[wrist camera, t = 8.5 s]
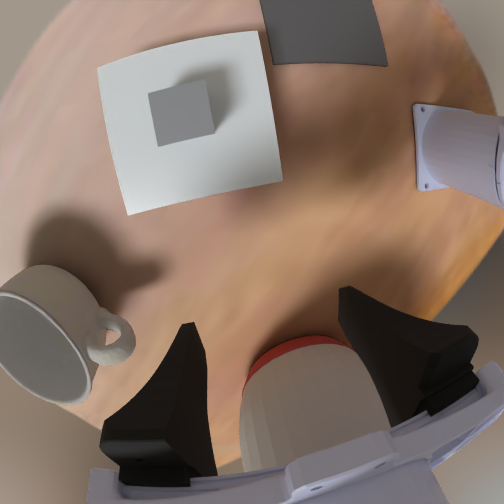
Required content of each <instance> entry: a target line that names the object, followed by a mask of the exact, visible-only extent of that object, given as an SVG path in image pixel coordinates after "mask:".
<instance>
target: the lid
mask: <svg viewBox="0 0 504 504" xmlns="http://www.w3.org/2000/svg"><path fill="white" fill-rule="evenodd" d="M97 72H98V80H99V87H100V94H101V101H102V107H103V113H104V118H105V123H106V129H107V134H108V139H109V143H110V148H111V152H112V157H113V161H114V165H115V169H116V173H117V177H118V181H119V185H120V189H121V193H122V196H123V200H124V203H125V207H126V210H127V214H128V215H132V214H136V213H139V212H143V211H147V210H151V209H155V208H159V207H163V206H167V205H171V204H175V203H179V202H184V201H188V200H192V199H197V198H201V197H206V196H210V195H215V194H220V193H224V192H229V191H234V190H239V189H244V188H249V187H255V186H260V185H265V184H271V183H277V182H282V181H283V176H282V169H281V162H280V155H279V148H278V142H277V136H276V129H275V123H274V117H273V111H272V105H271V99H270V93H269V88H268V82H267V77H266V71H265V66H264V61H263V56H262V51H261V46H260V41H259V36H258V31H247V32H237V33H229V34H222V35H215V36H209V37H203V38H198V39H192V40H187V41H183V42H178V43H174V44H170V45H166V46H162V47H158V48H154V49H151V50H147V51H144V52H141V53H137V54H134V55H131V56H128V57H125V58H122V59H119V60H116V61H114V62H111V63H108V64H106V65H103V66H101V67H98V68H97Z"/></svg>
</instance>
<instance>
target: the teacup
mask: <svg viewBox="0 0 504 504" xmlns="http://www.w3.org/2000/svg"><path fill="white" fill-rule="evenodd" d="M106 329H109V330H112V331H115V332H117V333H119V334H120V335H121V336H120V338H119V339H118V340H116V341H115V342H114V343H112V344H109V345H107V346H105V343H106ZM135 346H136V337H135V334H134V331H133V329H132V327H131V326H130V324H129V323H128V322H127V321H126V320H125V319H123V318H121V317H119V316H117V315H115V314H112V313H109V311H108V310H107V309H106V308H103V307H100V306H99V304H98V302H97V301H96V299H95V298H94V296H93V295H92V293H91V292H90V291H89V289H88V288H87V287H86V286H85V285H84V284H83V283H82V282H81V281H80V280H79V279H78V278H76V277H75V276H74V275H72V274H71V273H69V272H67V271H65V270H63V269H61V268H58V267H55V266H51V265H35V266H32V267H29V268H27V269H25V270H23V271H21V272H20V273H18V274H17V275H15V276H14V277H13V278H11V279H10V280H9V281H8V282H6V283H5V284H4V285H3V286H2V287H1V288H0V366H1V367H2V368H3V369H4V370H5V371H6V373H7V374H8V375H9V376H10V377H11V378H12V379H14V380H15V381H16V382H17V383H18V384H19V385H20V386H22V387H23V388H25V389H26V390H28V391H29V392H30V393H32V394H34V395H36V396H37V397H39V398H41V399H44V400H46V401H49V402H52V403H55V404H60V405H75V404H79V403H81V402H83V401H84V400H85V399H86V398H87V397H88V396H89V394H90V392H91V389H92V381H93V379H94V376H95V374H96V371H97V368H98V366H99V364H100V365H105V366H112V365H116V364H119V363H121V362H123V361H125V360H126V359H127V358H128V357H129V356H130V355H131V354H132V352H133V351H134V349H135Z"/></svg>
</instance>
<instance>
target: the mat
mask: <svg viewBox="0 0 504 504" xmlns="http://www.w3.org/2000/svg"><path fill="white" fill-rule="evenodd" d="M260 5H261V9H262V13H263V18H264V22H265V27H266V32H267V36H268V41H269V46H270V51H271V56H272V61H273V65H280V64H300V63H342V64H361V65H374V66H384V67H386V66H388V63H387V58H386V53H385V48H384V44H383V40H382V35H381V31H380V27H379V24H378V20H377V16H376V13H375V10H374V6H373V3H372V0H260Z"/></svg>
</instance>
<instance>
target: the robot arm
mask: <svg viewBox="0 0 504 504" xmlns="http://www.w3.org/2000/svg"><path fill="white" fill-rule="evenodd" d="M421 108H422V111H421ZM413 117H414V127H415V141H416V163H417V189H418V190H419V191H421V192H424V191H430V190H437V189H444V188H454V189H457V190H459V191H462V192H464V193H467V194H469V195H472V196H474V197H477V198H479V199H481V200H484V201H486V202H488V203H491V204H493V205H495V206H497V207H500V208H502V209H504V117H501V116H495V115H487V114H479V113H474V112H473V111H470V110H464V109H458V108H451V107H444V106H435V105H426V104H414V105H413ZM425 184H426V186H425ZM338 321H339V323H340V325H341V327H342V329H343V331H344V333H345V336H346V337H347V339H348V340H349V342H350V344H351V345H352V347H353V348H354V350H355V351H356V353H357V354H358V356H359V357H360V359H361V361H362V362H363V364H364V365H365V367H366V369H367V370H368V372H369V374H370V376H371V378H372V380H373V383H374V385H375V387H376V389H377V391H378V394H379V396H380V399H381V401H382V404H383V406H384V409H385V412H386V414H387V417H388V420H389V423H390V426H391V428H390V429H388V430H378V431H374V432H371V433H368V434H366V435H363V436H361V437H358V438H355V439H353V440H350V441H347V442H344V443H342V444H339V445H336V446H333V447H330V448H327V449H323V450H320V451H317V452H313V453H310V454H307V455H305V456H302V457H299V458H297V459H295V460H294V461H292V462H290V463H289V464H285V465H281V466H276V467H272V468H267V469H261V470H256V471H250V472H244V473H237V474H230V475H221V476H218V474H217V469H216V464H215V460H214V454H213V449H212V443H211V437H210V430H209V422H208V414H207V362H206V353H205V350H204V347H203V344H202V342H201V339H200V336H199V334H198V331H197V328H196V326H195V323H194V322H191V323H186V324H182V325H181V327H180V329H179V331H178V333H177V335H176V337H175V339H174V341H173V343H172V345H171V346H170V348H169V350H168V352H167V354H166V356H165V357H164V359H163V361H162V362H161V364H160V365H159V367H158V368H157V370H156V371H155V373H154V374H153V376H152V377H151V378H150V380H149V381H148V382H147V383H146V384H145V386H144V387H143V388H142V389H141V390H140V391H139V392H138V393H137V394H136V395H135V396H134V397H133V398H132V399H131V400H130V401H129V402H128V403H127V404H126V405H124V406H123V407H122V408H121V409H120V410H118V411H117V412H116V413H114V414H113V415H112V416H110V417H109V418H107V419H106V420H105V421H104V424H103V428H102V434H101V439H100V445H99V447H100V449H101V451H102V452H103V453H104V454H105V455H106V456H108V457H109V458H110V459H111V460H113V461H114V462H115V463H117V464H118V465H119V466H120V471H119V472H118V471H115V470H109V469H100V468H92V469H91V473H90V481H89V489H88V496H87V504H449V503H448V501H447V499H446V497H445V495H444V493H443V491H442V489H441V487H440V485H439V483H438V481H437V479H436V478H435V476H434V474H433V472H432V470H431V469H433V468H434V467H435V466H437V465H438V464H440V463H442V462H443V461H444V460H446V459H447V458H449V457H450V456H452V455H453V454H454V453H455V452H457V451H458V450H460V449H461V448H462V447H464V446H465V445H466V444H467V443H469V442H470V441H471V440H472V439H474V438H475V437H476V436H477V435H479V434H480V433H481V432H482V431H483V430H484V429H486V428H487V427H488V426H489V425H490V424H492V423H493V422H494V421H495V420H496V419H497V418H498V417H499V416H500V414H501V413H502V412H503V411H504V372H503V371H502V370H501V369H500V367H499V366H498V365H497V364H496V363H495V362H494V361H493V360H492V361H490V362H489V363H487V364H486V365H485V366H483V367H482V368H481V369H480V370H478V372H477V373H476V374H474V373H473V371H472V370H473V368H474V367H473V365H472V364H471V363H470V361H471V359H472V357H473V355H474V353H475V351H476V349H477V346H478V341H479V338H478V336H477V335H476V334H475V333H474V332H473V331H472V330H471V329H470V328H469V327H468V326H464V325H450V324H443V323H437V322H432V321H428V320H424V319H420V318H417V317H414V316H411V315H408V314H405V313H403V312H400V311H398V310H396V309H393V308H391V307H389V306H387V305H385V304H383V303H381V302H379V301H377V300H375V299H373V298H371V297H370V296H368V295H366V294H364V293H362V292H361V291H359V290H357V289H355V288H353V287H351V286H347V287H343V288H340V289H339V314H338Z"/></svg>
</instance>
